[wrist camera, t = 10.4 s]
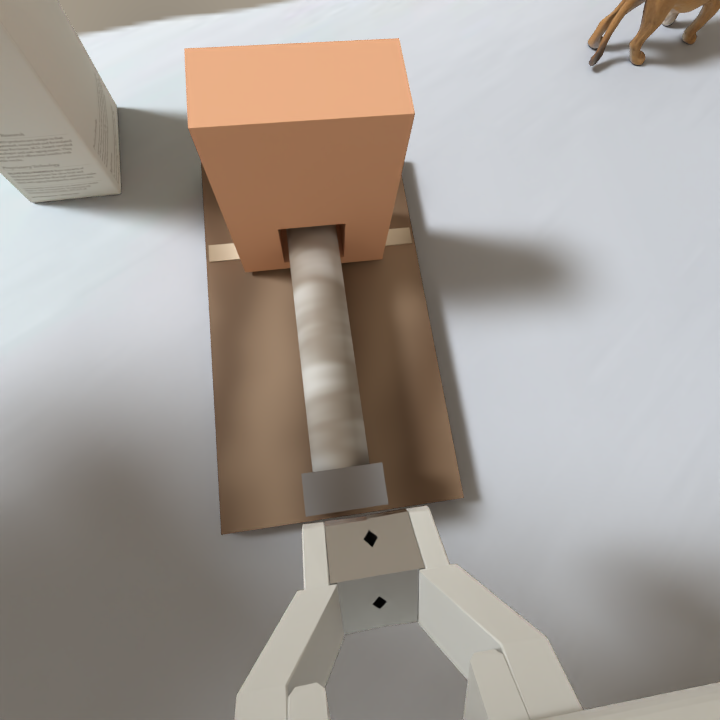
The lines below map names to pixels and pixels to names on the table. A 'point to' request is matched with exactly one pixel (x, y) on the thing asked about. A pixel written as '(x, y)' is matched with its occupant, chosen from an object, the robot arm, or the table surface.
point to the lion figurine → (651, 23)
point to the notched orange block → (301, 141)
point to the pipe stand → (324, 380)
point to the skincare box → (53, 108)
